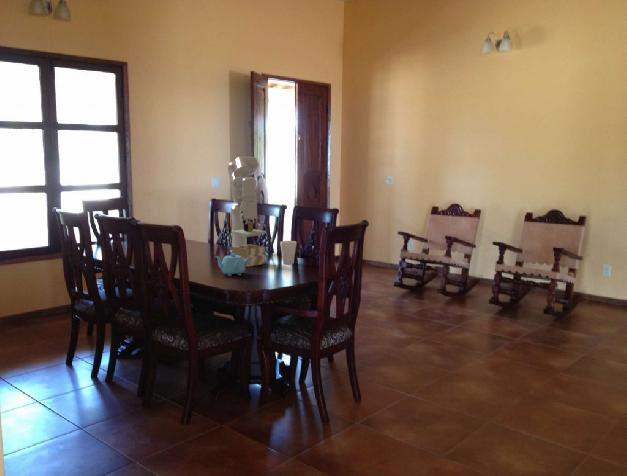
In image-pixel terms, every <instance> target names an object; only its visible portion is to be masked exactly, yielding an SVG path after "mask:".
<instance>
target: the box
mask: <svg viewBox="0 0 627 476" xmlns="http://www.w3.org/2000/svg"><path fill="white" fill-rule="evenodd" d="M231 250H232V253H234V254H235V255H238V256H241V257H242V259H243V261H245V260H246V259H247V258H248V257H249V258H250V259H251V260H250V261H249V262H248V264H247V265H246V266H245V267H253V266H258V265H264V264H266V263H267V261H266V260H267V259H266V258H267V257H266V255H267V248H266V246H263V245H256V244H251V243H250V244H247V245H241V246H234V247H232V246H231ZM232 253H231V254H232Z"/></svg>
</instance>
